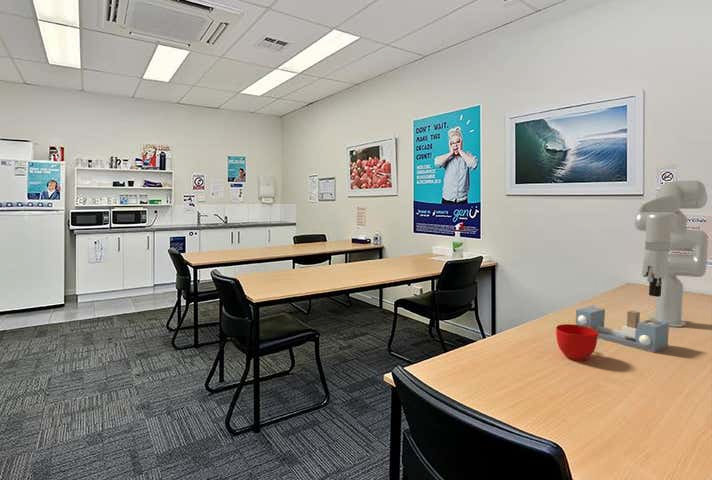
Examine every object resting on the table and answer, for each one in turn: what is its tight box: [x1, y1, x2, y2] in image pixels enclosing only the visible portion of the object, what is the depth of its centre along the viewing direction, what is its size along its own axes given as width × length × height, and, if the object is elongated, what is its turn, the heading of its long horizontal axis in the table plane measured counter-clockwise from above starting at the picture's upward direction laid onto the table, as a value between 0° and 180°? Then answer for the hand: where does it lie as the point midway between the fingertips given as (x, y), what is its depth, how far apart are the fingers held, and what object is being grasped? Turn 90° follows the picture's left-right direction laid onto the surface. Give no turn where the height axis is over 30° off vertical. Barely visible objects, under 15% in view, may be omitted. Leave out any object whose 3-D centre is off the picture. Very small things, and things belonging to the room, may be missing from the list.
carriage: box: [620, 310, 641, 340], centre depth 157 cm, size 7×5×10 cm
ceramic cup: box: [555, 323, 599, 362], centre depth 145 cm, size 13×17×10 cm
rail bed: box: [575, 305, 670, 354], centre depth 161 cm, size 12×29×10 cm, turn 32°
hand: (654, 295), depth 150 cm, fingers closed
